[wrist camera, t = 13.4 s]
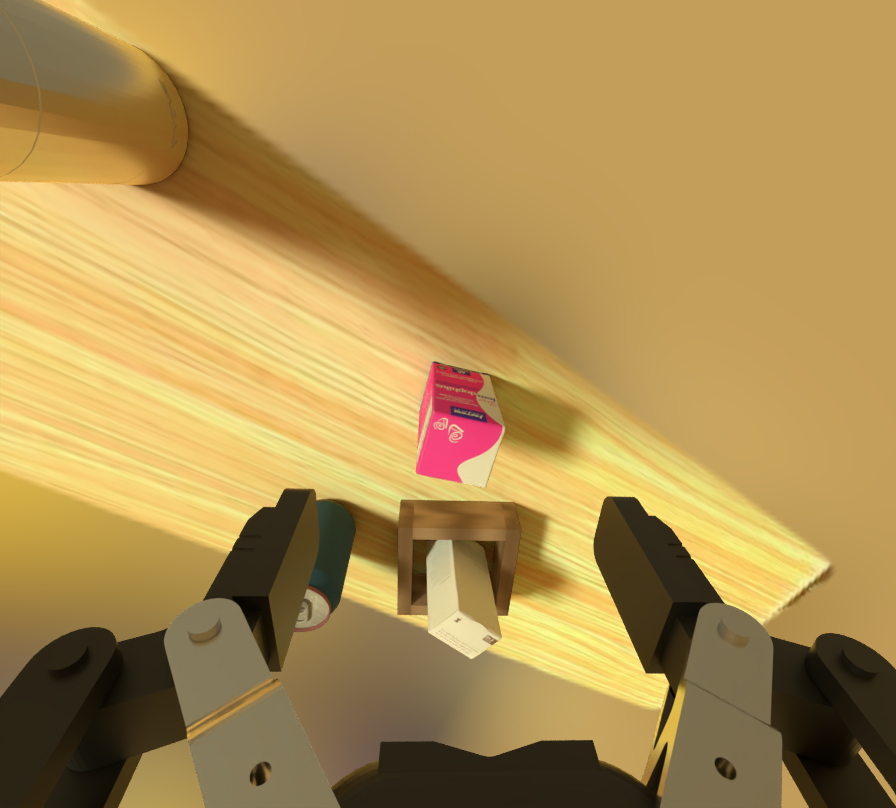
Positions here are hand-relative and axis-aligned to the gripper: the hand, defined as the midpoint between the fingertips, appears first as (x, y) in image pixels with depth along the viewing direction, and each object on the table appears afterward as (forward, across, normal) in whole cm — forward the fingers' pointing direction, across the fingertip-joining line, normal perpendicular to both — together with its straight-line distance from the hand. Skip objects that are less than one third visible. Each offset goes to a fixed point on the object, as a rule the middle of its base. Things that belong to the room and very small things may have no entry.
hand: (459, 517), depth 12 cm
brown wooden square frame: (+30, -3, +29) cm, 42 cm away
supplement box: (+30, -2, +10) cm, 32 cm away
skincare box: (+30, -3, +29) cm, 42 cm away
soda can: (+30, +12, +26) cm, 41 cm away
